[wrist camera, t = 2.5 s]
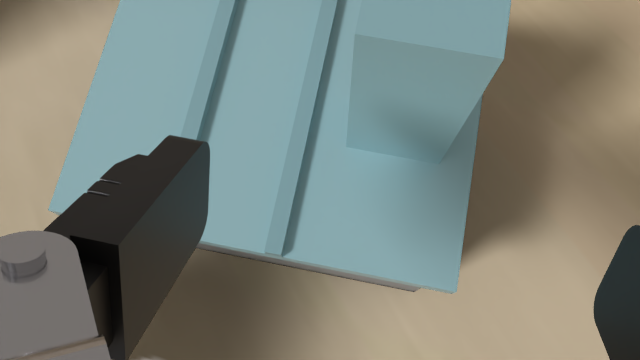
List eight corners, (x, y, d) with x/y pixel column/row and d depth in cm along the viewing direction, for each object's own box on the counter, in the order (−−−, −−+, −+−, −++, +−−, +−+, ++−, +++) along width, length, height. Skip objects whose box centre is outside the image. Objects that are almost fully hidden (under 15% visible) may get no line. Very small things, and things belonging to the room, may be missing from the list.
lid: (58, 214, 21) (-125, 131, 13) (140, -29, 24) (37, -230, 16) (451, 293, 20) (540, 260, 11) (487, 28, 23) (579, -154, 14)
